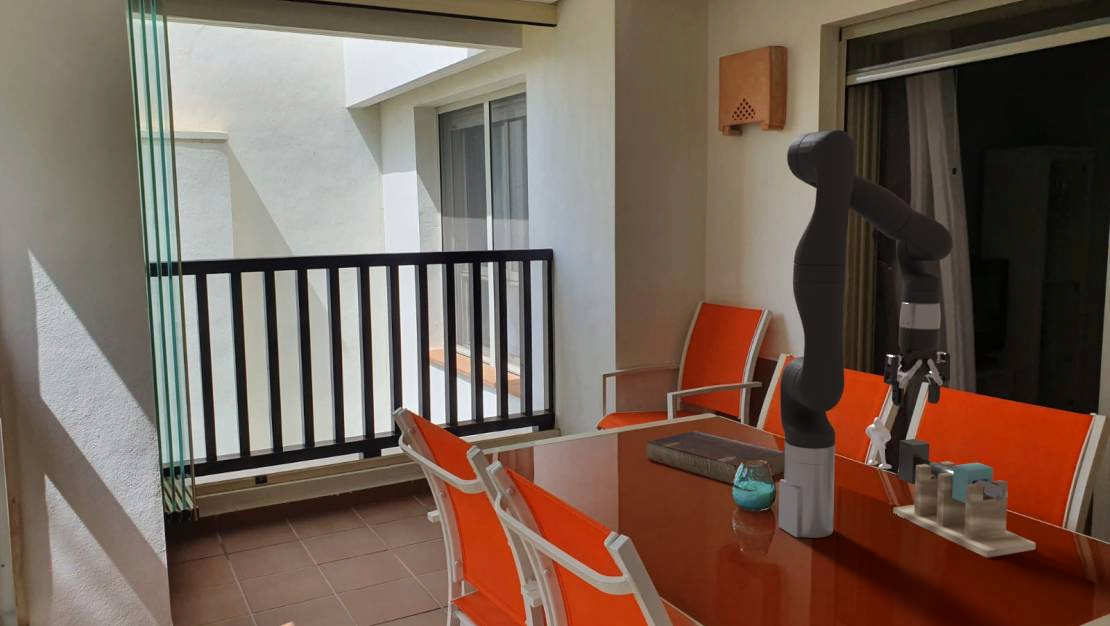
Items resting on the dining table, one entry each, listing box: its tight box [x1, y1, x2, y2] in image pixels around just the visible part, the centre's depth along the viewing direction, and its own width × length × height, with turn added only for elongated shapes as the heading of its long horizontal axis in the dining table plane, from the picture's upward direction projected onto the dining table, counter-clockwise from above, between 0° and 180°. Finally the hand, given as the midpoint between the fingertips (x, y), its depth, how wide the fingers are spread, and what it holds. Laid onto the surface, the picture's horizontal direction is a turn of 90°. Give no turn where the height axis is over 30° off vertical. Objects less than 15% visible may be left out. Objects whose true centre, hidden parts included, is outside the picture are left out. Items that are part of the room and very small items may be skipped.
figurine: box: [865, 417, 892, 470], centre depth 204 cm, size 7×4×12 cm, turn 24°
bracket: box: [892, 460, 1036, 558], centre depth 162 cm, size 24×11×11 cm, turn 18°
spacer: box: [952, 462, 994, 503], centre depth 159 cm, size 4×6×6 cm, turn 108°
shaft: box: [897, 438, 1006, 500], centre depth 165 cm, size 24×4×8 cm, turn 18°
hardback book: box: [646, 430, 785, 485], centre depth 208 cm, size 29×19×5 cm, turn 40°
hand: (915, 404), depth 173 cm, fingers open, 8 cm apart
